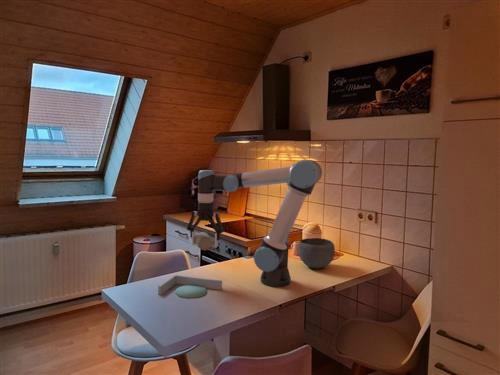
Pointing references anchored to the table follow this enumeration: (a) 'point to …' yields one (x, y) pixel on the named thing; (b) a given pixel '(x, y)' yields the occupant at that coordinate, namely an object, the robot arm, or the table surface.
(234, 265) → the table surface
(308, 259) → the bowl
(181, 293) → the mat
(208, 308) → the table surface
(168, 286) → the end wall
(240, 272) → the table surface
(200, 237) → the ceramic mug
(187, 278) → the divider wall
